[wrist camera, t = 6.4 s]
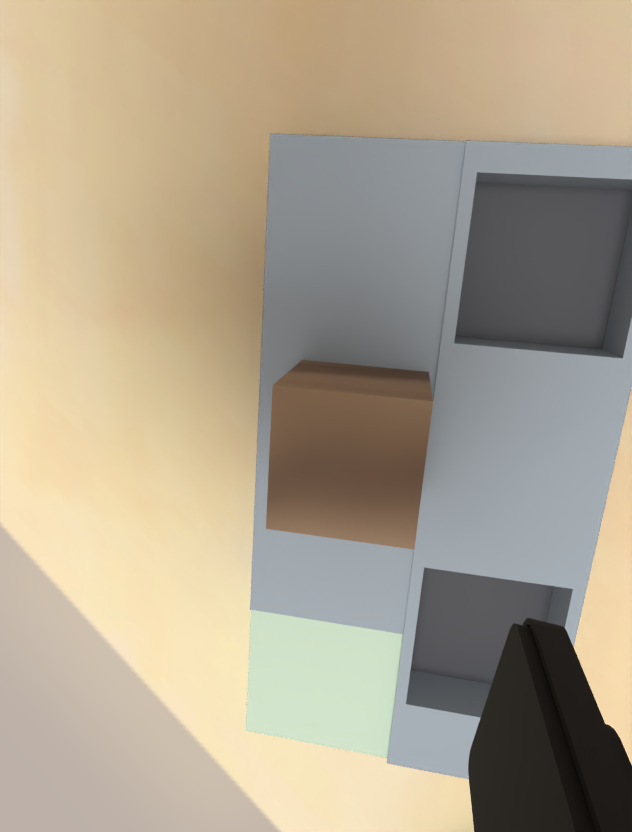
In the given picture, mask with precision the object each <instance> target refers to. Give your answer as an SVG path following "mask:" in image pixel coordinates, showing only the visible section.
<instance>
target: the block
mask: <svg viewBox="0 0 632 832" xmlns="http://www.w3.org/2000/svg"><path fill="white" fill-rule="evenodd" d="M432 406H433V397H432V390H431V383H430V376H429V372H425V371H414V370H404V369H393V368H383V367H372V366H362V365H351V364H341V363H330V362H320V361H310V360H302V361H300V362H299V363H298V364H297V365H296V366H294V367H293V368H292V369H291V370H290V371H289V372H287V373H286V374H285V375H284V376H283V377H282V378H280V379H279V380H278V381H277V382H276V383H274V384H273V388H272V409H271V430H270V451H269V472H268V493H267V514H266V529H271V530H278V531H285V532H292V533H299V534H306V535H314V536H321V537H328V538H335V539H342V540H349V541H356V542H364V543H371V544H378V545H385V546H392V547H399V548H407V549H415V541H416V533H417V525H418V517H419V509H420V501H421V493H422V485H423V477H424V469H425V462H426V454H427V446H428V438H429V430H430V422H431V414H432Z"/></svg>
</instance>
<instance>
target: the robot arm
mask: <svg viewBox="0 0 632 832" xmlns="http://www.w3.org/2000/svg"><path fill="white" fill-rule="evenodd" d="M468 775H469V784H470V794H471V803H472V813H473V822H474V831H475V832H632V765H631V763H630V761H629V758H628V756H627V754H626V751H625V749H624V747H623V744H622V742H621V740H620V738H619V736H618V734H617V733H616V731H615V730H614V729H613V728H612V727H611V726H609V725H606V724H605V723H604V720H603V718H602V715H601V713H600V711H599V708H598V706H597V703H596V701H595V698H594V696H593V694H592V691H591V689H590V686H589V684H588V681H587V679H586V677H585V674H584V672H583V669H582V667H581V665H580V662H579V660H578V657H577V655H576V652H575V650H574V648H573V645H572V643H571V640H570V638H569V636H568V633H567V631H566V629H565V628H564V627H563V626H560V625H556V624H552V623H548V622H544V621H540V620H536V619H532V618H527V619H526V620H525V621H524V622H523V625H519V624H515V623H514V624H513V625H512V626H511V628H510V630H509V633H508V636H507V639H506V642H505V645H504V648H503V651H502V654H501V658H500V661H499V664H498V667H497V670H496V673H495V676H494V679H493V682H492V685H491V688H490V691H489V694H488V697H487V700H486V703H485V706H484V709H483V712H482V715H481V718H480V721H479V724H478V727H477V730H476V733H475V736H474V739H473V742H472V746H471V749H470V754H469V762H468Z"/></svg>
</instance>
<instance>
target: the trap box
mask: <svg viewBox="0 0 632 832" xmlns="http://www.w3.org/2000/svg"><path fill="white" fill-rule="evenodd" d="M302 360H310V361H320V362H330V363H341V364H351V365H362V366H372V367H383V368H393V369H404V370H414V371H425V372H429V376H430V383H431V390H432V397H433V406H432V414H431V422H430V430H429V438H428V446H427V454H426V462H425V469H424V477H423V485H422V493H421V501H420V509H419V517H418V525H417V533H416V541H415V549H407V548H399V547H392V546H385V545H378V544H371V543H364V542H356V541H349V540H342V539H335V538H328V537H321V536H314V535H306V534H299V533H292V532H285V531H278V530H271V529H266V514H267V493H268V472H269V451H270V430H271V409H272V388H273V384H274V383H276V382H277V381H278V380H279V379H280V378H282V377H283V376H284V375H285V374H286V373H287V372H289V371H290V370H291V369H292V368H293V367H294V366H296V365H297V364H298V363H299V362H300V361H302ZM631 387H632V147H621V146H596V145H571V144H545V143H520V142H495V141H469V140H466V141H446V140H421V139H396V138H370V137H345V136H320V135H295V134H270V154H269V178H268V201H267V225H266V248H265V272H264V296H263V319H262V343H261V366H260V390H259V414H258V437H257V461H256V484H255V508H254V532H253V555H252V579H251V602H250V610H251V622H250V645H249V668H248V692H247V715H246V731H250V732H256V733H261V734H266V735H271V736H276V737H281V738H287V739H292V740H297V741H302V742H307V743H312V744H318V745H323V746H328V747H333V748H338V749H343V750H349V751H354V752H359V753H364V754H369V755H374V756H380V757H385V758H387V763H388V764H393V765H399V766H404V767H409V768H414V769H419V770H424V771H429V772H434V773H440V774H445V775H450V776H455V777H460V778H465V779H469V775H468V762H469V754H470V749H471V746H472V742H473V739H474V736H475V733H476V730H477V727H478V724H479V721H480V718H481V715H482V712H483V709H484V706H485V703H486V700H487V697H488V694H489V691H490V688H491V685H492V682H493V679H494V676H495V673H496V670H497V667H498V664H499V661H500V658H501V654H502V651H503V648H504V645H505V642H506V639H507V636H508V633H509V630H510V628H511V626H512V625H513V624H514V623H515V624H519V625H523V622H524V621H525V620H526V619H527V618H532V619H536V620H540V621H544V622H548V623H552V624H556V625H560V626H563V627H564V628H565V629H566V631H567V633H568V636H569V638H570V640H571V643H572V645H573V647H574V643H575V638H576V634H577V629H578V625H579V620H580V616H581V611H582V607H583V602H584V598H585V593H586V589H587V584H588V580H589V575H590V571H591V566H592V562H593V557H594V553H595V548H596V544H597V539H598V535H599V530H600V526H601V521H602V517H603V512H604V508H605V503H606V499H607V494H608V490H609V485H610V481H611V476H612V472H613V467H614V463H615V459H616V454H617V450H618V445H619V441H620V436H621V432H622V427H623V423H624V418H625V414H626V409H627V405H628V400H629V396H630V391H631Z"/></svg>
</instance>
